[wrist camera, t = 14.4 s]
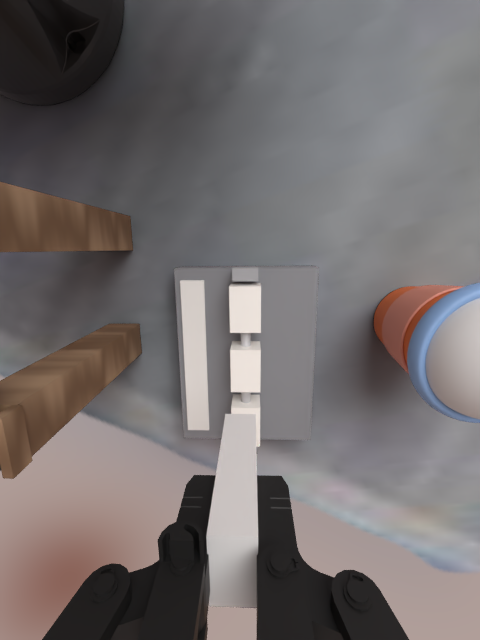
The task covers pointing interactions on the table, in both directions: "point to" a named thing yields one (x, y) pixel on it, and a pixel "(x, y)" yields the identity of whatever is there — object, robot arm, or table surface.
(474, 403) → the cup with straw
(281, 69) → the table surface
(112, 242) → the posts
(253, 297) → the breaker paddles
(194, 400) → the breaker panel
